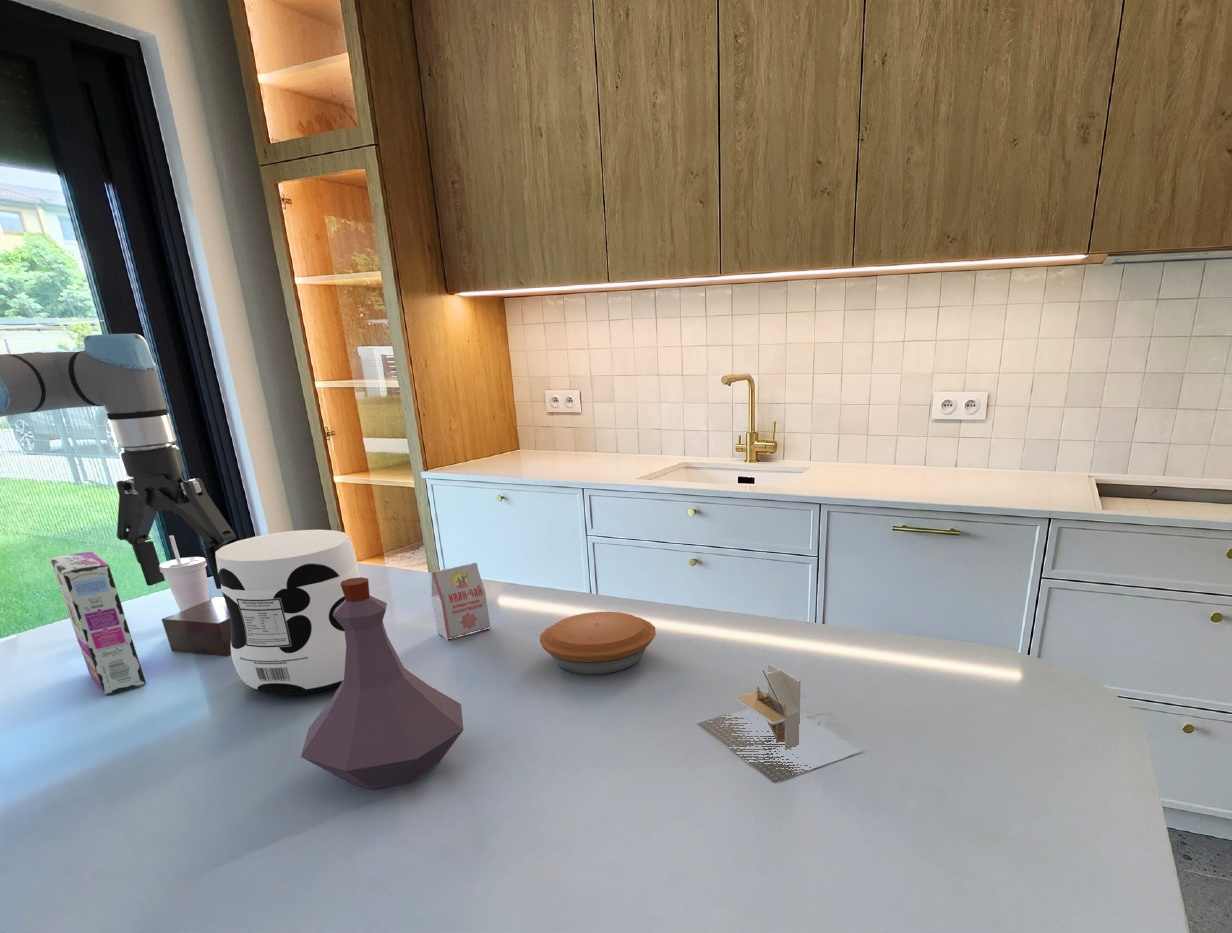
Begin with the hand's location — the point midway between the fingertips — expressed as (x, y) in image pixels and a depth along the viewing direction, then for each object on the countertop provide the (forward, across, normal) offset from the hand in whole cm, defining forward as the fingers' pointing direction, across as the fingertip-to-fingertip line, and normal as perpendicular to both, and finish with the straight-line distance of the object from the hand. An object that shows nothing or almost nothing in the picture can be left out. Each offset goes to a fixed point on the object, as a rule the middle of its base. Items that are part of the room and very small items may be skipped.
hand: (190, 584), depth 125 cm
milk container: (+7, -35, +16) cm, 39 cm away
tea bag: (+7, -46, -3) cm, 46 cm away
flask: (+7, -59, +34) cm, 68 cm away
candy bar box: (+6, -8, +22) cm, 24 cm away
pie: (+7, -70, +3) cm, 70 cm away
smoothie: (+6, 0, 0) cm, 6 cm away
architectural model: (+7, -97, +20) cm, 99 cm away
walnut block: (+6, -12, +7) cm, 15 cm away
